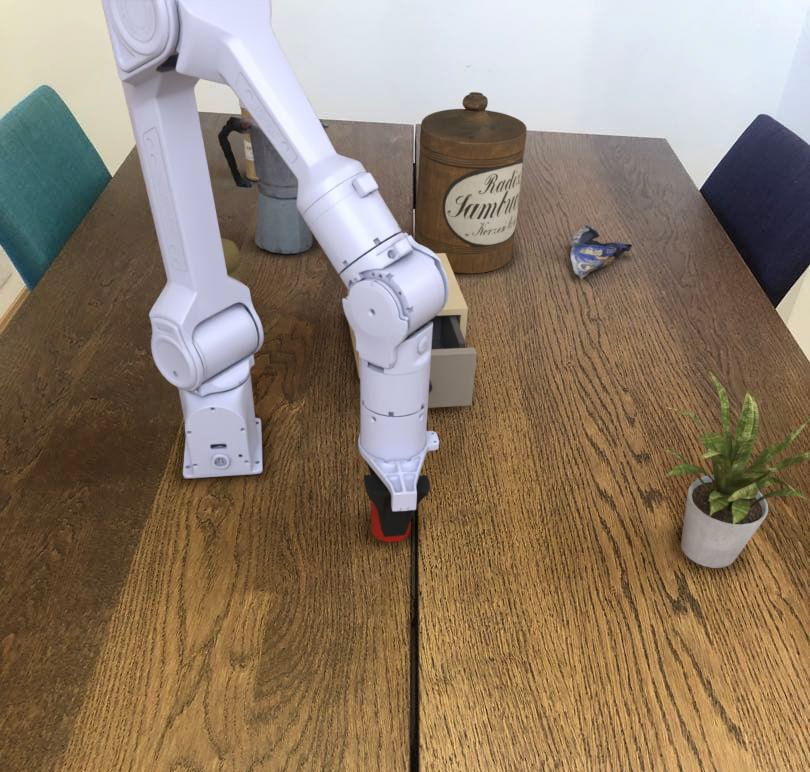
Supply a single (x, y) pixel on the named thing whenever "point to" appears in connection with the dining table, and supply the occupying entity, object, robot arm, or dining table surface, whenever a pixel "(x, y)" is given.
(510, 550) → the dining table surface
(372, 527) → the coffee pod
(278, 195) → the moka pot
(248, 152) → the sprinkles bottle
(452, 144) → the wooden container
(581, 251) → the snack package
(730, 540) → the house plant
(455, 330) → the drawer
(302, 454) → the dining table surface
